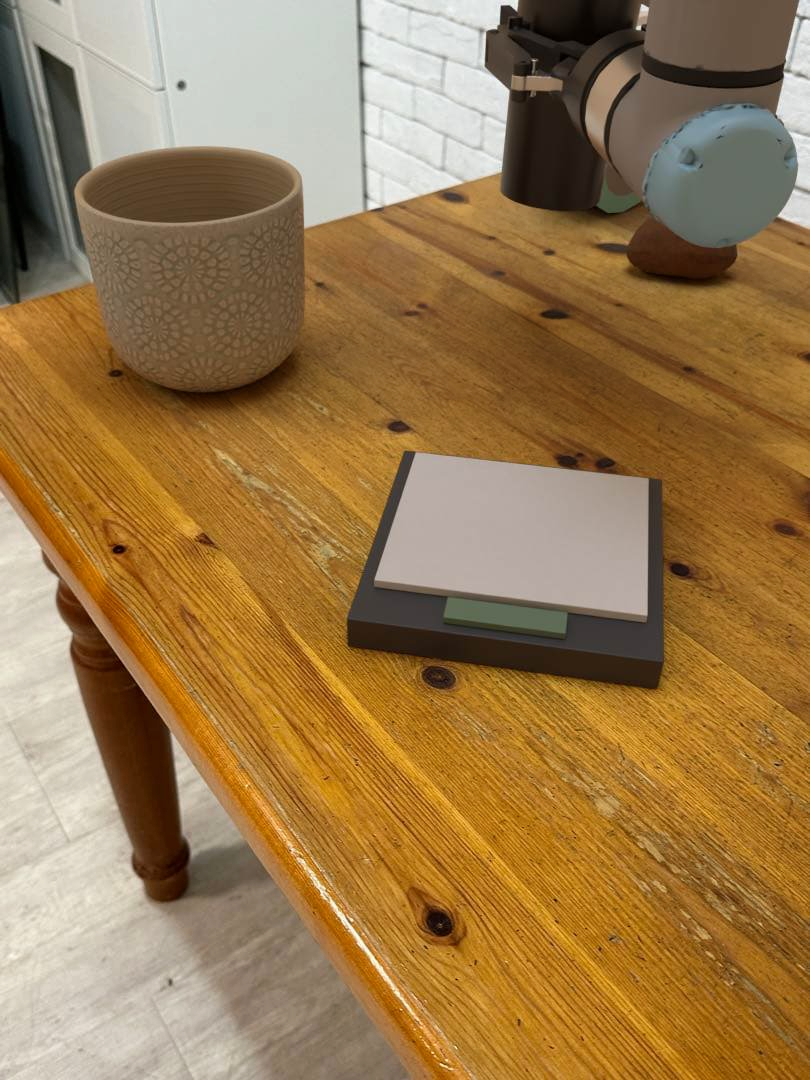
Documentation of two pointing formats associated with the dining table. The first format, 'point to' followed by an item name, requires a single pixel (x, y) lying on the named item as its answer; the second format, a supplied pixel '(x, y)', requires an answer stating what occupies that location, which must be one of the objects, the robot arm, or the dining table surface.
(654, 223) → the potato
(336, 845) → the dining table surface
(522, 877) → the dining table surface
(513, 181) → the water bottle
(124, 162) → the planter
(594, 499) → the scale
